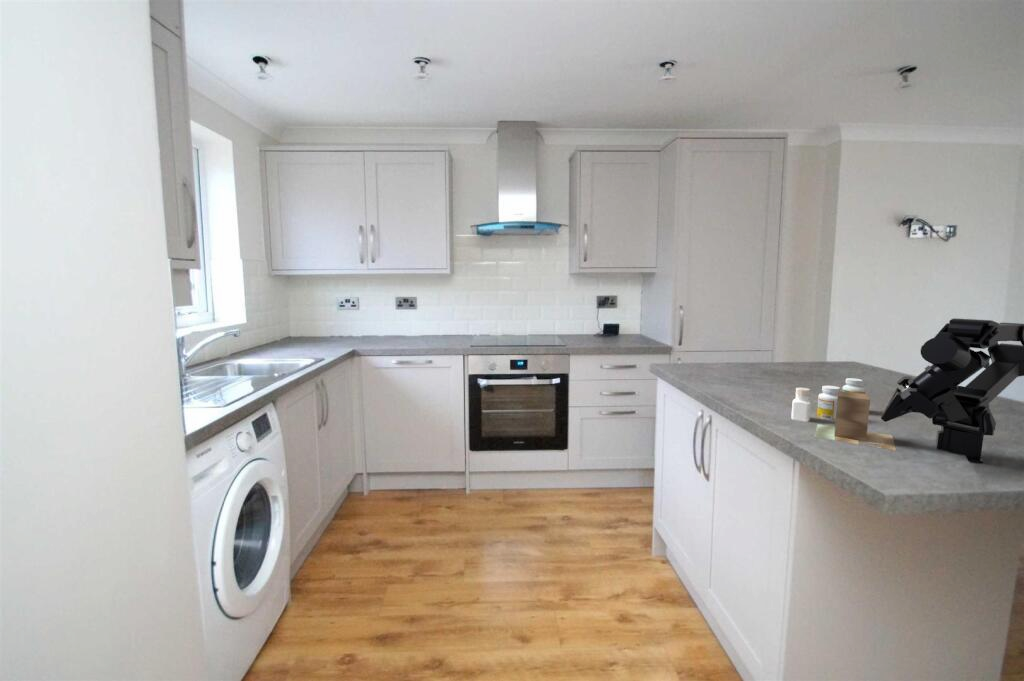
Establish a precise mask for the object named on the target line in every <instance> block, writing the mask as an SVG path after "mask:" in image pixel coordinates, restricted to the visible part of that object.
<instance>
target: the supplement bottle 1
mask: <svg viewBox="0 0 1024 681" xmlns="http://www.w3.org/2000/svg"><path fill="white" fill-rule="evenodd" d="M821 387H822V388H821V392H822V393H819V394H818V396H817V397H818V398H817V408H816V410H817V412H816V417H817V418H820V419H823V420H828V421H836V411H837V400H838V392H839V391H841V387H839V386H835V385H822V386H821Z"/></svg>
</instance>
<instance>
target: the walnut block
mask: <svg viewBox="0 0 1024 681" xmlns="http://www.w3.org/2000/svg"><path fill="white" fill-rule="evenodd" d="M870 405H871V397H870V394H868V393H865V394H860V393H851V392H843V391H842V390H840V391H839V392H838V400H837V411H836V420H835V423H834V424H835V425H834V427H835V434H834V437H840V438H846V439H852V440H859V442H862V441H865V442H864V443H867V442H866V437H867V432H868V425H869V414H870Z"/></svg>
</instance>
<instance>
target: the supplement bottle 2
mask: <svg viewBox="0 0 1024 681" xmlns="http://www.w3.org/2000/svg"><path fill="white" fill-rule="evenodd" d="M863 382H864V381H863V379H862V378H861V379H860V378H854V377H852V378H851V377H849V378H845V384H844V385H843V386H842V387H841V389H842V390H841V391H843V392H851V393H860V394H866V388H865V387H863V384H864V383H863Z"/></svg>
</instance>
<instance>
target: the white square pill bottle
mask: <svg viewBox="0 0 1024 681" xmlns="http://www.w3.org/2000/svg"><path fill="white" fill-rule="evenodd" d="M810 396H811V388H808V387H796V388H795V398H793V400H792V403H791V404H792V405H791V415H790V416H791V417H790V420H791V419H792V420H794V421H800V422H805V423H806V422H810V420H811V411H812V400H810Z"/></svg>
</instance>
